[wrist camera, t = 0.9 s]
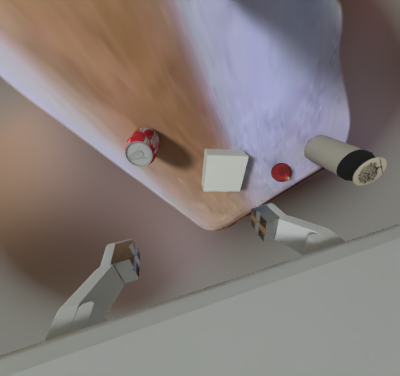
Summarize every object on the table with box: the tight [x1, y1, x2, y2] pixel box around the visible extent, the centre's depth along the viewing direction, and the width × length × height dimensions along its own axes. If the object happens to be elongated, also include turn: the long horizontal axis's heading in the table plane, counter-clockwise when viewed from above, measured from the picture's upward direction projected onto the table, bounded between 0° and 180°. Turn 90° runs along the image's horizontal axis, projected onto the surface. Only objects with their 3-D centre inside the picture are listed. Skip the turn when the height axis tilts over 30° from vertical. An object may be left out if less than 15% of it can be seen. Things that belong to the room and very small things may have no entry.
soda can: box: [125, 127, 160, 166], centre depth 41 cm, size 7×7×12 cm
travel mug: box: [305, 135, 387, 186], centre depth 46 cm, size 8×8×18 cm
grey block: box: [202, 149, 249, 191], centre depth 51 cm, size 12×12×5 cm
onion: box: [271, 163, 292, 182], centre depth 52 cm, size 6×6×8 cm
